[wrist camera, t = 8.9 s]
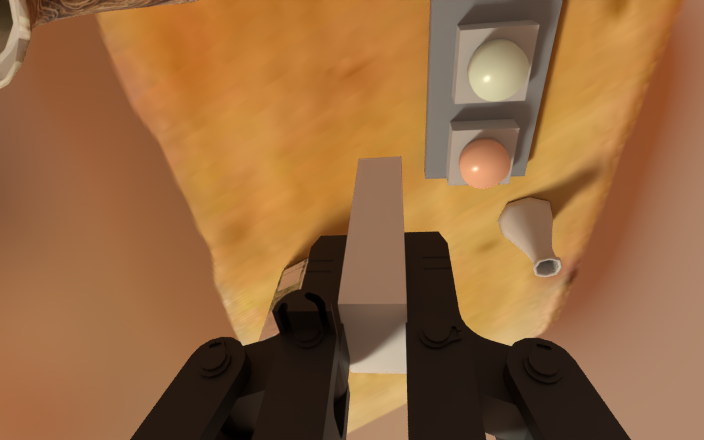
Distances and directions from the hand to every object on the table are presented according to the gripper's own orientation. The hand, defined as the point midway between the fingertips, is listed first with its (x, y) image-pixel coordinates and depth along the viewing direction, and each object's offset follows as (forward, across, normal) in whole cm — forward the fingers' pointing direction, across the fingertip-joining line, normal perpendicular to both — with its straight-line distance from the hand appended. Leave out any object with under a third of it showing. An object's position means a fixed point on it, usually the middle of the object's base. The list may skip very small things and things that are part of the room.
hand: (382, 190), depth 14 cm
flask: (+32, +18, -26) cm, 45 cm away
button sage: (+30, +10, -4) cm, 32 cm away
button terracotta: (+30, +10, -14) cm, 34 cm away
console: (+32, +10, -4) cm, 34 cm away
